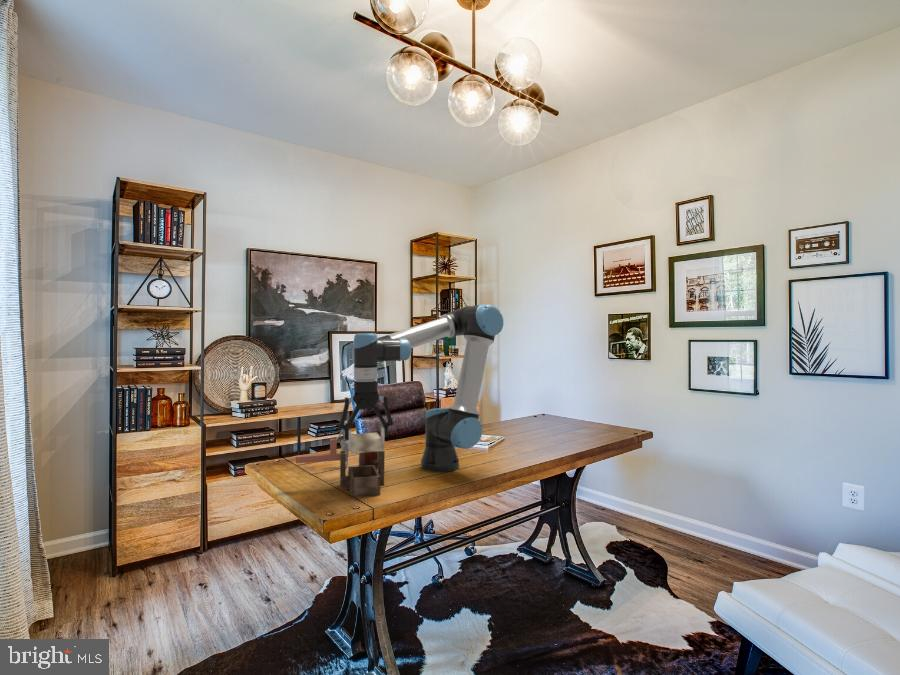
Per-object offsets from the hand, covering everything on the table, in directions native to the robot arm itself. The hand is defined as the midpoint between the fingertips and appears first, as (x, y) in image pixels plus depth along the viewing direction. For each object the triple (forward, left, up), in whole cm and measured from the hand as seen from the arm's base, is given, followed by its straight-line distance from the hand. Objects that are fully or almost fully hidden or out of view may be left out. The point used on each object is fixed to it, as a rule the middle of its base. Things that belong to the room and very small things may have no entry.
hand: (366, 448), depth 152 cm
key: (+14, -8, -5) cm, 17 cm away
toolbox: (0, -3, -14) cm, 15 cm away
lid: (0, -3, 0) cm, 4 cm away
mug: (-5, -22, -15) cm, 27 cm away
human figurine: (+4, -32, -15) cm, 36 cm away
